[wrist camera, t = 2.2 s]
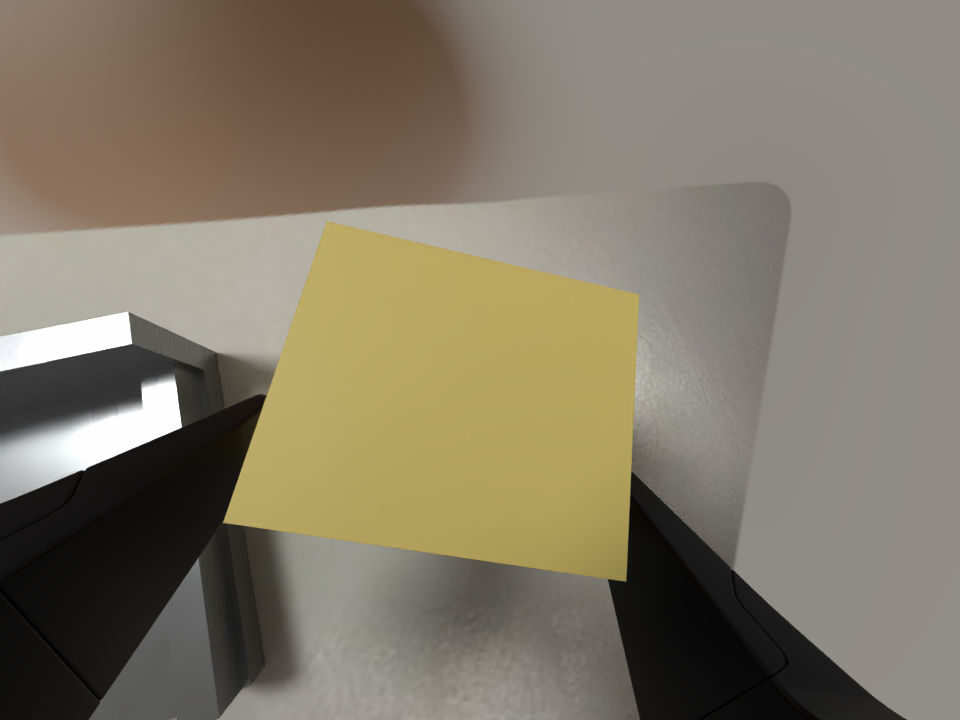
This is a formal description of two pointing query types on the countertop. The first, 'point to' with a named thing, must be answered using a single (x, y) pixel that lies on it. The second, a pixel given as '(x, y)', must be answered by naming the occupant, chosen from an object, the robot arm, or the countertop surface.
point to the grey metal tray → (106, 433)
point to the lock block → (449, 410)
